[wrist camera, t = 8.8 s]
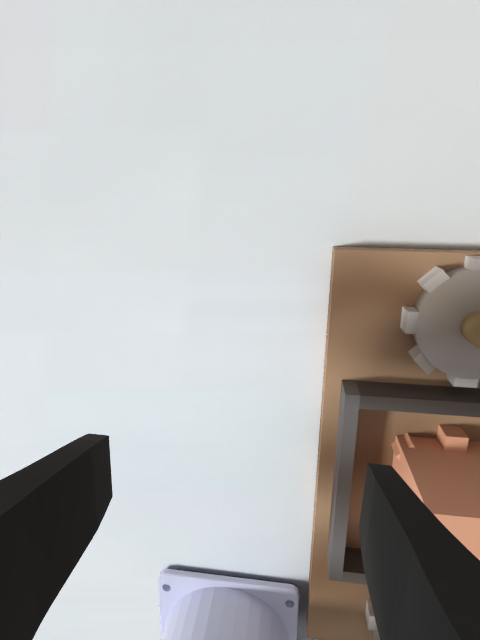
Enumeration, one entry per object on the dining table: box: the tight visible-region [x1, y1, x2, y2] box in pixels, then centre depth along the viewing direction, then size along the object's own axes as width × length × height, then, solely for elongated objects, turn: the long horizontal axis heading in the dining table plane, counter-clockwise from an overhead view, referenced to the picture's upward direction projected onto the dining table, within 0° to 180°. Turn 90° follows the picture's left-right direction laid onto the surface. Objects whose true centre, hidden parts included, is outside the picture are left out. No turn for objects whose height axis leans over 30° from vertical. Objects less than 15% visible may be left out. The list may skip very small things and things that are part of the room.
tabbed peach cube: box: [391, 424, 480, 560], centre depth 17 cm, size 6×6×5 cm
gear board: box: [306, 247, 480, 640], centre depth 19 cm, size 21×11×3 cm, turn 179°
